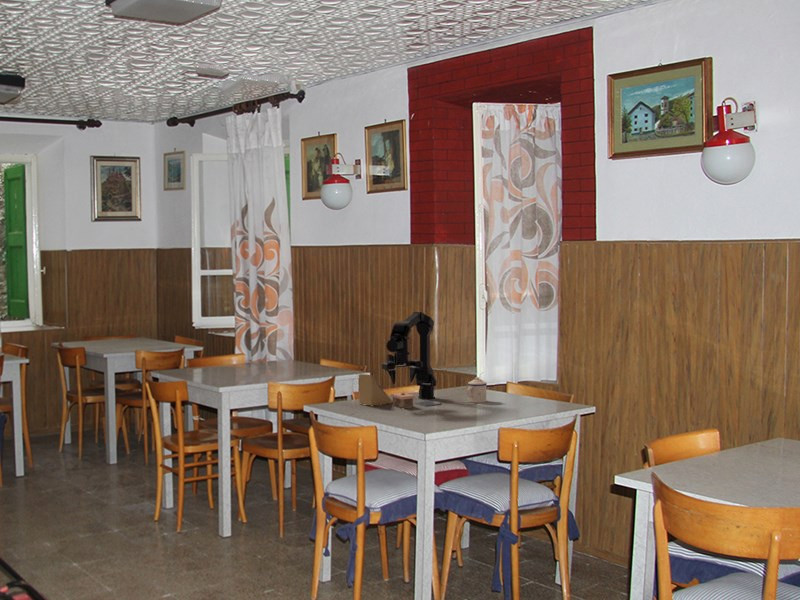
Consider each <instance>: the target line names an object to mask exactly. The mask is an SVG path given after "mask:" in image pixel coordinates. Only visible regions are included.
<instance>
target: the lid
mask: <svg viewBox="0 0 800 600" xmlns="http://www.w3.org/2000/svg"><path fill="white" fill-rule="evenodd" d="M390 397H392V398H393V397H395V398H399V399H412V398H413V399H416V398H415V395H414V394H411V393H407V392H397V393H391V394H390Z"/></svg>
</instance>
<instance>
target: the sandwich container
mask: <svg viewBox="0 0 800 600" xmlns="http://www.w3.org/2000/svg"><path fill="white" fill-rule="evenodd" d="M358 390H359V391H358V393H359V394H358V395H359V396H358V397H359V401H358V402H359V404H360V403H361V404H366V405H371V406H372V405H378V406H380V405H379V404H383V405H387V404H386V403H389V404H393V403H392V402H393V399H391V397H389V395H388V394H387V393H386V392H385V390H384V389H383V388H382V387H381V386H380V385H379V383H378V382H377V380H376V379H375V378H374V377H373V375H372V374H366V373H364V374H363V373H358ZM371 406H370V407H371Z"/></svg>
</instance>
